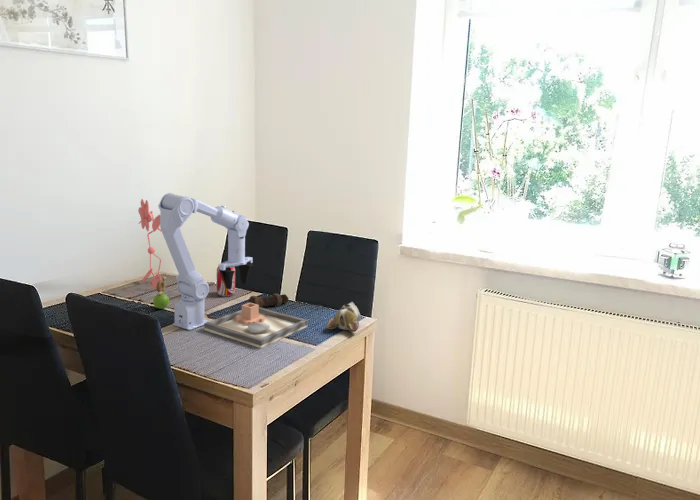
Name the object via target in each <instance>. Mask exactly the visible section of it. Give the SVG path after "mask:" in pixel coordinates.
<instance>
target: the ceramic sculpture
mask: <svg viewBox="0 0 700 500" xmlns="http://www.w3.org/2000/svg"><path fill="white" fill-rule="evenodd" d="M360 318H361V313H360V310H359V308H358V307H357V305H355V303H354V302H353V301H351V302H349V303H346V304H344V305H342V307H341V308H339V309H338V311H337V312H336V313H335V316H334V317H331V318H330V319H329V320H328V321H327V324H326V327H325V329H328V330H334V329H336V328H338V329H339V330H344V331H349V332H351V333H355V332H356V331H358V329H359V326H360V325H359V324H360V322H359V320H360Z"/></svg>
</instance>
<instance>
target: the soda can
mask: <svg viewBox="0 0 700 500" xmlns="http://www.w3.org/2000/svg"><path fill="white" fill-rule="evenodd" d="M222 263H223V262H220V263H218V267H216V294H217V295H218V296H220V297H231V296H233V295H234V294H235V292H236V267H232V268H230V269H231V270H233V271H235V272H234V275H233V279H232V288H231V289H228V288H226V286H225V282H224V279H223V277H222V275H221V273H220V271H219V264H222Z"/></svg>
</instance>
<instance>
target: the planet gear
mask: <svg viewBox="0 0 700 500" xmlns="http://www.w3.org/2000/svg"><path fill="white" fill-rule="evenodd" d="M241 310H242V315H241V316H239V315H238V316H235V321H236V323H243V324H244V325H246V326H248V325H249V324H251V323H255V322H265V317H264V315H259V305H257V304H253V303H248V302H247V303H244V304H242V305H241Z"/></svg>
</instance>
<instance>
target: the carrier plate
mask: <svg viewBox="0 0 700 500" xmlns="http://www.w3.org/2000/svg"><path fill="white" fill-rule="evenodd" d="M238 315H239V316H241V315H242V309H240V310H237V311H234V312H232V313H230V314H225V315H223V316H221V317H218V318H215V319H212V320H208V321H209V322H206V323H204V325H203V329H204V331H206V332H209V333H212V334H216V335H219V336H221V337H223V338H228V339H231V340H234V341H238V342H240V343H244V344H247V345H250V346H253V347H256V348H259V349H263V348H265V347H267V346H269V345H271V344H273V343H275V342H277V341H280V340H282V339H284V338H287V337H289V336H291V335H293V334H295V333H297V332H300V331H302V330H303V329H306V328H308V326H309V322H308V321H309V320H308V319H304V318H302V317H297V316H295V315H290V314H286V313H282V312H280V311H275V310H272V309H268V308H265V307H259V315H264V317H265V322H255V323H251V324H249V325H248V326H246V325H244V324H243V323H236V321H235V316H238Z"/></svg>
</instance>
